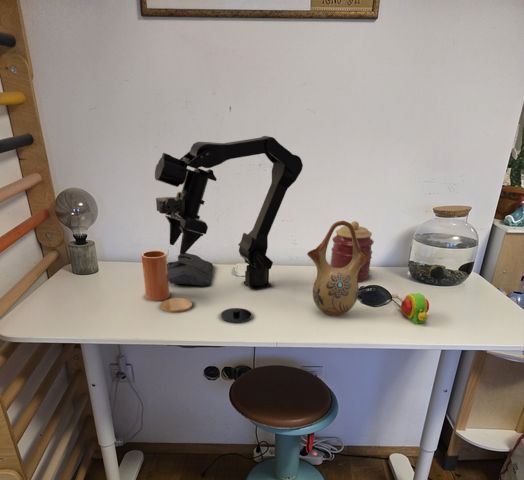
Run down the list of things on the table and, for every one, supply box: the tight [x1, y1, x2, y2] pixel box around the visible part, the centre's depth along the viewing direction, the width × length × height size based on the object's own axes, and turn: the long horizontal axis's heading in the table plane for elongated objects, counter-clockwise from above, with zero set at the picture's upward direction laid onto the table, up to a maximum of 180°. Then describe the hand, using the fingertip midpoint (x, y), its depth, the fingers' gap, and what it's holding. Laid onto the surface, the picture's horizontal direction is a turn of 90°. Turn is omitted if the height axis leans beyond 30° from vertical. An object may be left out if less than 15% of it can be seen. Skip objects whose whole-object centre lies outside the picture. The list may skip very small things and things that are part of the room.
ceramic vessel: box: [306, 220, 372, 317], centre depth 121 cm, size 16×9×25 cm, turn 85°
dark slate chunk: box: [167, 252, 214, 287], centre depth 149 cm, size 15×22×5 cm
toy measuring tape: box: [390, 292, 430, 324], centre depth 128 cm, size 6×19×7 cm, turn 9°
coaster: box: [160, 297, 193, 313], centre depth 129 cm, size 8×8×1 cm
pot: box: [141, 250, 171, 302], centre depth 131 cm, size 7×7×12 cm
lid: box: [220, 307, 252, 324], centre depth 123 cm, size 8×8×2 cm
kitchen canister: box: [329, 220, 375, 282], centre depth 149 cm, size 13×13×18 cm
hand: (176, 249), depth 127 cm, fingers open, 9 cm apart
